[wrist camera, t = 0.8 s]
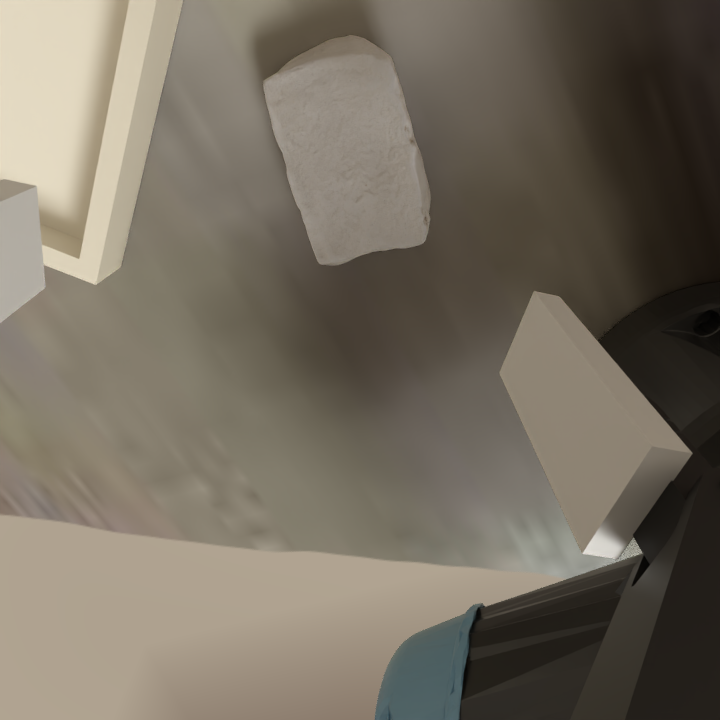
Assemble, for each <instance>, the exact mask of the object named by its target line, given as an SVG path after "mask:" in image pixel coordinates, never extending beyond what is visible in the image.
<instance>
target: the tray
mask: <svg viewBox="0 0 720 720" xmlns="http://www.w3.org/2000/svg"><path fill="white" fill-rule="evenodd" d="M182 4H183V0H0V180H3V179H6V180H11V181H16V182H20V183H25V184H30V185H35V186H37V194H38V206H39V218H40V229H41V241H42V253H43V265H46V266H48V267H51V268H54V269H56V270H59V271H61V272H64V273H66V274H69V275H72V276H74V277H77V278H79V279H82V280H85V281H87V282H90V283H92V284H95V285H96V284H98V283H99V282H101V281H102V280H103V279H105V278H106V277H108V276H109V275H111V274H112V273H113V272H115V271H116V270H118V269H119V268H120V267H121V265H122V261H123V257H124V252H125V248H126V244H127V240H128V235H129V231H130V227H131V222H132V218H133V214H134V209H135V205H136V201H137V197H138V192H139V188H140V184H141V179H142V175H143V171H144V167H145V162H146V158H147V154H148V149H149V145H150V141H151V137H152V132H153V128H154V124H155V119H156V115H157V111H158V107H159V102H160V98H161V94H162V89H163V85H164V81H165V77H166V72H167V68H168V64H169V59H170V55H171V51H172V47H173V42H174V38H175V34H176V29H177V25H178V21H179V17H180V12H181V8H182Z"/></svg>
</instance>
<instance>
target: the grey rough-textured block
mask: <svg viewBox="0 0 720 720" xmlns="http://www.w3.org/2000/svg"><path fill="white" fill-rule="evenodd" d="M263 89H264V93H265V100H266V104H267V107H268V112H269V115H270V120H271V123H272V128H273V132H274V136H275V139H276V141H277V143H278V145H279V148H280V149H281V151H282V153H283V157H284V161H285V164H286V169H287V172H286V174H287V178H288V181H289V185H290V187H291V191H292V194H293V196H294V199H295V202H296V204H297V206H298V208H299V209H300V210H301V216H302V220H303V222H304V224H305V226H306V231H307V234H308V237H309V240H310V243H311V246H312V249H313V251H314V254H315V256H316V259H317V261H318V263H319V264H322V265H325V264H326V265H328V266H332V265H340V264H343V263H346V262H349V261H351V260H353V259H354V258H356V257H358V256H361V255H365V254H368V253H370V252H375V251H387V250H390V249H395V248H410V247H414V246H418V245H421V244H423V243H424V242H425V240H426V237H427V234H428V231H429V225H430V216H429V209H430V205H431V193H430V187H429V184H428V180H427V176H426V173H425V169H424V164H423V160H422V155H421V152H420V150H419V148H418V145H417V142H416V140H415V137H414V133H413V129H412V123H411V119H410V116H409V113H408V110H407V107H406V103H405V98H404V94H403V90H402V87H401V84H400V82H399V78H398V75H397V72H396V70H395V66H394V62H393V59H392V58H391V56H390V55H389V54H387V53H386V52H385V51H383V50H382V49H381V48H379V47H377V46H376V45H375V44H373V43H371V42H369V41H368V40H366V39H365V38H362V37H359V36H355V35H348V36H345V37H337V38H333V39H329V40H327V41H325V42H323V43H321V44H320V45H318V46H316V47H313V48H312V49H310V50H308V51H306V52H304V53H302V54H300V55H298V56H297V57H295V58H293V59H292V60H290V61H289V62H288V63H286V64H285V65H284V66H283V67H282V68H281V69H280V70H279V71H278V72H277V73H275V74H273V75H272V76H270V77H269V78H267V79H265V80H264V81H263Z"/></svg>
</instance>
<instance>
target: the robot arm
mask: <svg viewBox="0 0 720 720" xmlns="http://www.w3.org/2000/svg"><path fill="white" fill-rule="evenodd" d="M44 288H45V276H44V265H43V253H42V241H41V229H40V218H39V206H38V194H37V186H35V185H30V184H25V183H20V182H16V181H11V180H6V179H3V180H0V323H1V322H2V321H3V320H5V319H6V318H7V317H8V316H10V315H11V314H12V313H14V312H15V311H16V310H17V309H19V308H20V307H21V306H23V305H24V304H25V303H26V302H28V301H29V300H30V299H32V298H33V297H34V296H35V295H37V294H38V293H39V292H40V291H42V290H43V289H44ZM499 374H500V376H501V378H502V380H503V383H504V385H505V387H506V389H507V391H508V394H509V396H510V398H511V400H512V402H513V404H514V407H515V409H516V411H517V413H518V415H519V417H520V420H521V422H522V424H523V426H524V428H525V431H526V433H527V435H528V437H529V439H530V441H531V444H532V446H533V448H534V450H535V452H536V454H537V457H538V459H539V461H540V463H541V465H542V467H543V470H544V472H545V474H546V476H547V478H548V481H549V483H550V485H551V487H552V489H553V491H554V494H555V496H556V498H557V500H558V502H559V504H560V507H561V509H562V511H563V513H564V515H565V518H566V520H567V522H568V524H569V526H570V528H571V531H572V533H573V535H574V537H575V539H576V541H577V544H578V546H579V548H580V550H581V552H582V554H587V555H594V556H601V557H608V558H615V559H618V558H619V557H620V556H621V554H622V553H623V551H624V550H625V548H626V547H627V546H628V544H629V543H630V541H631V540H632V539H633V537H634V538H635V540H636V542H637V544H638V545H639V547H640V549H641V551H642V552H643V553H642V554H639V555H636V556H633V557H630V558H628V559H625V560H622V561H619V562H616V563H613V564H610V565H607V566H604V567H601V568H598V569H596V570H593V571H590V572H587V573H584V574H581V575H578V576H575V577H572V578H569V579H566V580H564V581H561V582H558V583H555V584H552V585H549V586H546V587H543V588H540V589H537V590H535V591H532V592H529V593H526V594H523V595H520V596H517V597H514V598H511V599H508V600H505V601H502V602H499V603H496V604H493V605H490V606H487V607H485V606H484V605H483V603H480V604H475V605H473V606H472V607H471V608H469V610H467V612H466V613H465V614H463V615H460V616H458V617H455V618H453V619H450V620H448V621H445V622H443V623H440V624H438V625H435V626H433V627H430V628H428V629H425V630H423V631H421V632H418V633H416V634H414V635H412V636H411V637H409V638H408V639H407V640H406V641H404V642H403V643H402V644H401V646H400V647H399V648H398V649H397V651H396V652H395V654H394V655H393V657H392V658H391V660H390V662H389V664H388V667H387V669H386V672H385V674H384V678H383V681H382V684H381V688H380V691H379V695H378V700H377V706H376V713H375V720H720V282H715V283H707V284H702V285H697V286H693V287H689V288H685V289H682V290H679V291H676V292H673V293H670V294H668V295H665V296H663V297H661V298H659V299H657V300H654V301H652V302H651V303H649V304H647V305H645V306H643V307H642V308H640V309H638V310H637V311H635V312H633V313H632V314H631V315H629V316H628V317H626V318H625V319H624V320H622V321H621V322H620V323H619V324H617V325H616V326H615V327H614V328H613V329H612V330H610V331H609V332H608V333H607V334H606V335H605V336H604V337H603V338H602V339H601V340H600V342H598V341H597V340H596V339H595V338H594V336H593V335H592V334H591V333H590V332H589V331H588V329H587V328H586V327H585V326H584V325H583V324H582V322H581V321H580V320H579V319H578V318H577V316H576V315H575V314H574V313H573V312H572V311H571V309H570V308H569V307H568V306H567V305H566V303H565V302H564V301H563V300H562V299H561V298H560V296H556V295H551V294H546V293H542V292H537V291H534V292H533V294H532V296H531V299H530V301H529V303H528V306H527V308H526V311H525V313H524V315H523V318H522V320H521V322H520V325H519V327H518V330H517V332H516V334H515V337H514V339H513V341H512V344H511V346H510V349H509V351H508V353H507V356H506V358H505V360H504V363H503V365H502V367H501V370H500V372H499Z"/></svg>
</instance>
